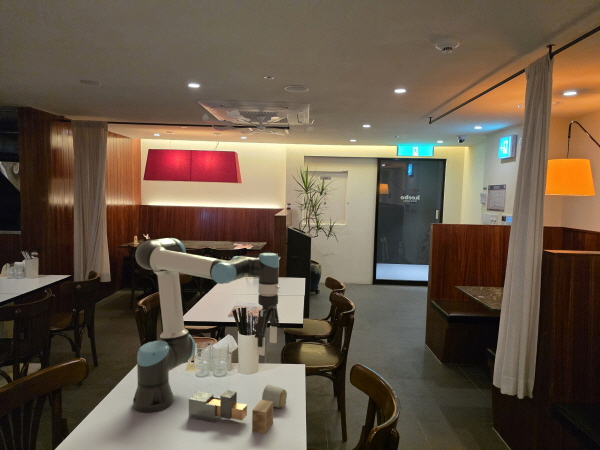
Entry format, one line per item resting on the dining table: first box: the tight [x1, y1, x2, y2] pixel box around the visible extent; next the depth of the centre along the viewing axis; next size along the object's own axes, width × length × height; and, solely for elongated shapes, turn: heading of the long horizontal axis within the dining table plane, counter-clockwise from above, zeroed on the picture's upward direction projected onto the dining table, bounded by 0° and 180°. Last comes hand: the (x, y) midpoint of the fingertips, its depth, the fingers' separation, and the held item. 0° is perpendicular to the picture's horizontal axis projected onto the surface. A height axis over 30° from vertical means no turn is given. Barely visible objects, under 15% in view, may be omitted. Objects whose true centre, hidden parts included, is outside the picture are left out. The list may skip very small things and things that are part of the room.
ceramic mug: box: [261, 384, 288, 409], centre depth 167 cm, size 11×8×8 cm
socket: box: [251, 399, 274, 434], centre depth 150 cm, size 5×8×8 cm, turn 163°
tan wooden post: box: [206, 389, 248, 421], centre depth 155 cm, size 20×5×8 cm, turn 73°
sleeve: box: [188, 391, 220, 423], centre depth 156 cm, size 11×6×7 cm, turn 73°
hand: (267, 348), depth 160 cm, fingers open, 13 cm apart
